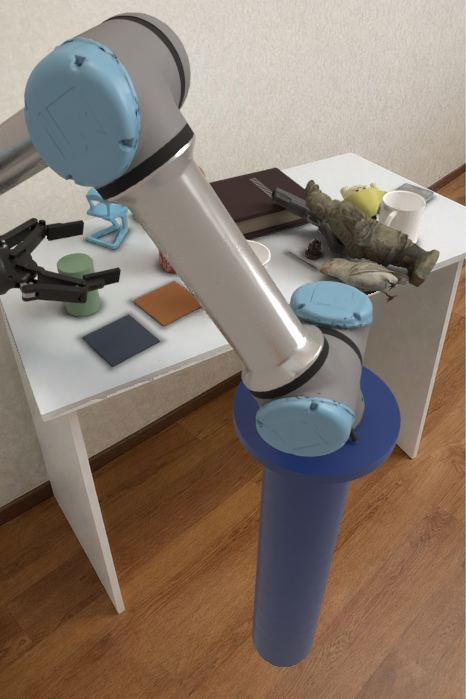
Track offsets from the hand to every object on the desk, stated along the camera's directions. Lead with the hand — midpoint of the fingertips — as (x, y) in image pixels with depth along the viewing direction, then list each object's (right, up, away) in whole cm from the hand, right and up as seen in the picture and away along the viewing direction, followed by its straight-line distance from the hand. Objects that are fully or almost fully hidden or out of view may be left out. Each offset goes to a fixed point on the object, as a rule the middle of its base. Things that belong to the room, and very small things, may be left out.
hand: (100, 250), depth 103 cm
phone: (+65, +18, +42) cm, 79 cm away
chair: (-4, +8, +30) cm, 31 cm away
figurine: (+40, +3, +24) cm, 46 cm away
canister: (-6, -9, +11) cm, 15 cm away
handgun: (+40, +6, +20) cm, 45 cm away
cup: (+25, -8, +12) cm, 29 cm away
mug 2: (+59, +7, +29) cm, 66 cm away
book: (+25, +14, +36) cm, 46 cm away
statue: (+62, -2, +16) cm, 64 cm away
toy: (+52, +21, +41) cm, 69 cm away
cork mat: (+11, -8, +11) cm, 18 cm away
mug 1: (+11, +2, +23) cm, 25 cm away
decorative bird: (+53, -7, +9) cm, 54 cm away
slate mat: (+3, -16, +3) cm, 16 cm away
